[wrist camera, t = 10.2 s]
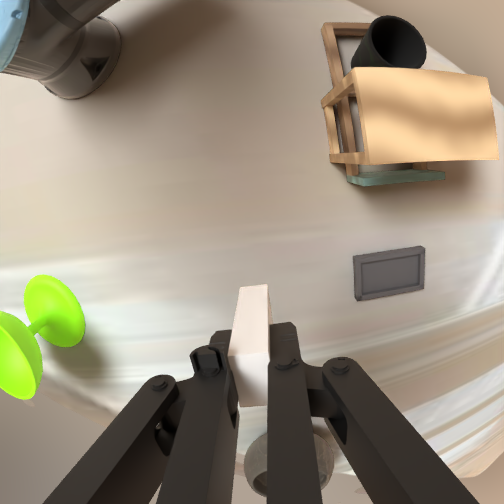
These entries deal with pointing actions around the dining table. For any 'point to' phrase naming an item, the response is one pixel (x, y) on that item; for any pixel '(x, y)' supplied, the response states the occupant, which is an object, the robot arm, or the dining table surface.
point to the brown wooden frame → (415, 116)
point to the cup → (390, 45)
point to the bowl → (258, 463)
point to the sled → (345, 120)
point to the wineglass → (42, 321)
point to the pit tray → (388, 272)
